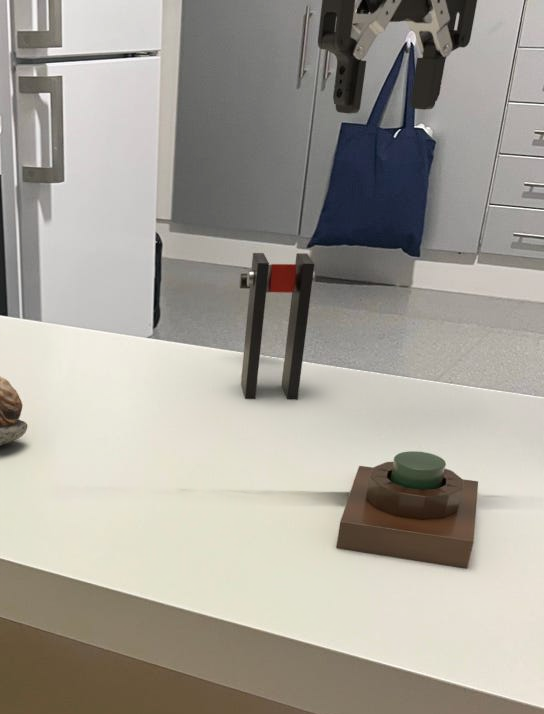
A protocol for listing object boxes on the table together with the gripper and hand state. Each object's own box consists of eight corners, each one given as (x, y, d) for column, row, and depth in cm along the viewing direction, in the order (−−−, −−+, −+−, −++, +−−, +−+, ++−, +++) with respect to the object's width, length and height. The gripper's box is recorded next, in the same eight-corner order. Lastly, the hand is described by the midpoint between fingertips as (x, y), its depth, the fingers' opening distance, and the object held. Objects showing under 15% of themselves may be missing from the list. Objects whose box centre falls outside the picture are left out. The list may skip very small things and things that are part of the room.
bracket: (222, 388, 104) (234, 246, 96) (301, 389, 103) (319, 247, 96) (230, 422, 95) (243, 270, 88) (316, 424, 95) (337, 270, 88)
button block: (355, 490, 82) (362, 443, 80) (472, 507, 79) (483, 459, 77) (335, 548, 73) (343, 498, 71) (466, 569, 71) (479, 517, 68)
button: (392, 470, 76) (396, 448, 75) (442, 477, 75) (447, 454, 74) (387, 488, 73) (391, 466, 72) (439, 495, 72) (444, 472, 71)
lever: (238, 293, 105) (240, 268, 104) (287, 293, 104) (289, 269, 104) (254, 291, 92) (256, 263, 91) (309, 292, 92) (312, 264, 91)
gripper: (381, -150, 69) (346, 119, 78) (531, -140, 75) (483, 110, 84) (312, -138, 75) (287, 111, 84) (456, -130, 80) (418, 103, 89)
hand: (385, 110), depth 84 cm, fingers open, 7 cm apart
